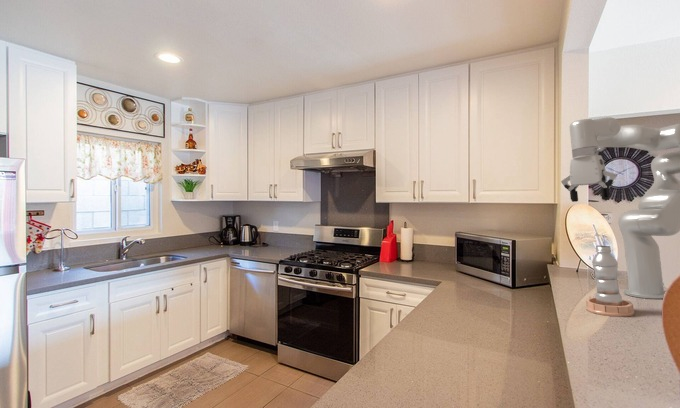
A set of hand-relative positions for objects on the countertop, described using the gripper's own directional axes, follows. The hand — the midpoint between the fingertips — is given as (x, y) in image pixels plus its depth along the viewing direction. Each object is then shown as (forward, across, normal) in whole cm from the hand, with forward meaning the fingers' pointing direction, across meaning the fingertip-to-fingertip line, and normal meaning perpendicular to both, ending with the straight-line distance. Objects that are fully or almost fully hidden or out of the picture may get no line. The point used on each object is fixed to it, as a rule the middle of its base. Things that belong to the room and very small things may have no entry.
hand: (589, 200), depth 118 cm
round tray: (+36, -7, +10) cm, 38 cm away
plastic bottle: (+36, -7, +10) cm, 38 cm away
